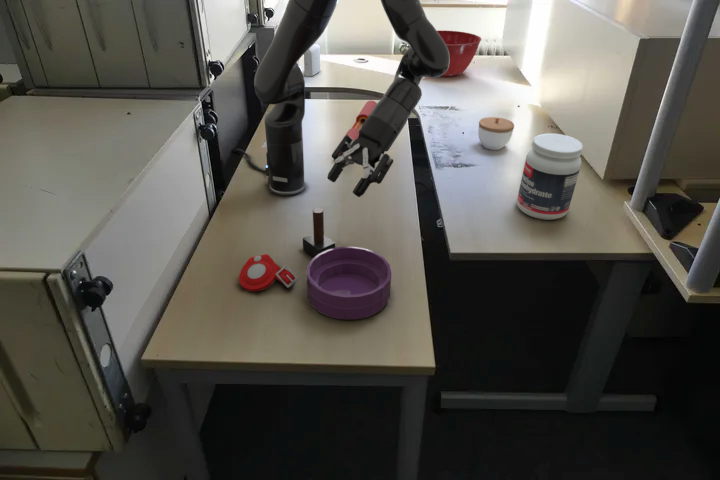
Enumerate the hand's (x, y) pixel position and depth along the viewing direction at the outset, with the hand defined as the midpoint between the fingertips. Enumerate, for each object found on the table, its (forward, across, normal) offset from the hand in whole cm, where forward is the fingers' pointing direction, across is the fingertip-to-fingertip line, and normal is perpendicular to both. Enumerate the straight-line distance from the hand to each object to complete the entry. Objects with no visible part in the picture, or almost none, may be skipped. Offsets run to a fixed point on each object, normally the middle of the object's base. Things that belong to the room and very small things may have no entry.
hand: (342, 187), depth 113 cm
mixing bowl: (-77, -78, +97) cm, 146 cm away
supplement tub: (-25, +20, +45) cm, 55 cm away
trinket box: (-41, -13, +61) cm, 75 cm away
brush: (+15, 0, +5) cm, 16 cm away
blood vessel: (-21, -46, +42) cm, 66 cm away
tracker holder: (+25, +1, -5) cm, 25 cm away
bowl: (+18, +15, +2) cm, 23 cm away
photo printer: (-43, -112, +63) cm, 135 cm away
